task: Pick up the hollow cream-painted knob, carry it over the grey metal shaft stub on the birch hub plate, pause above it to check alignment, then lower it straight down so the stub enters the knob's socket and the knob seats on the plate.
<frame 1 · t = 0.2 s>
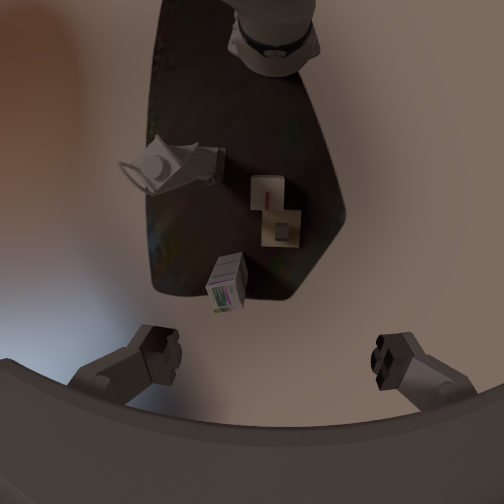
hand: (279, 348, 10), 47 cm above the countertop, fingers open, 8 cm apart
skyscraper: (205, 160, 53), on the countertop
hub: (281, 228, 57), on the countertop
syrup box: (234, 265, 61), on the countertop
knob: (267, 189, 54), on the countertop
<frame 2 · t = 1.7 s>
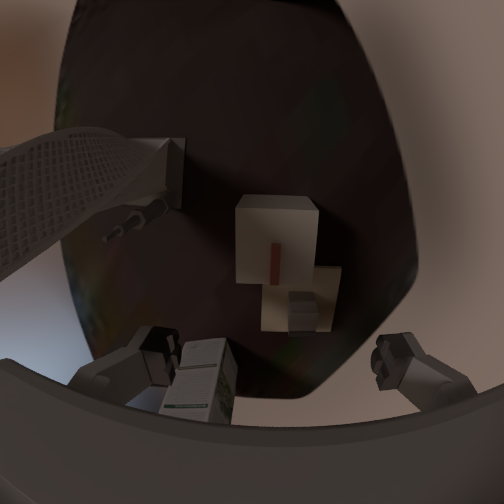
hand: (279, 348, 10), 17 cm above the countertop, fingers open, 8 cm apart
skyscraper: (146, 166, 25), on the countertop
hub: (299, 299, 29), on the countertop
syrup box: (213, 354, 33), on the countertop
knob: (274, 226, 26), on the countertop
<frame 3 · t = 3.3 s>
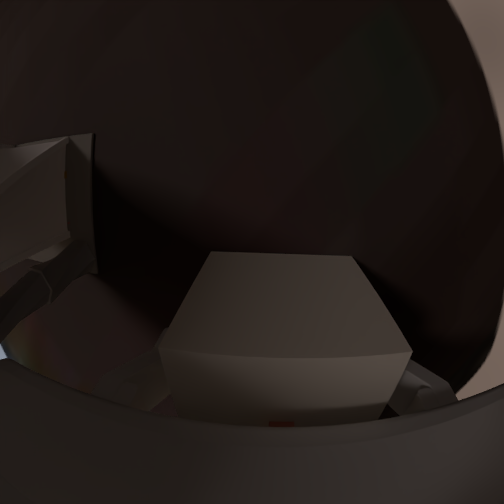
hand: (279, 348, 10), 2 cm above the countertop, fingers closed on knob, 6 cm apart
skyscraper: (44, 192, 11), on the countertop
knob: (278, 314, 12), on the countertop, touching gripper
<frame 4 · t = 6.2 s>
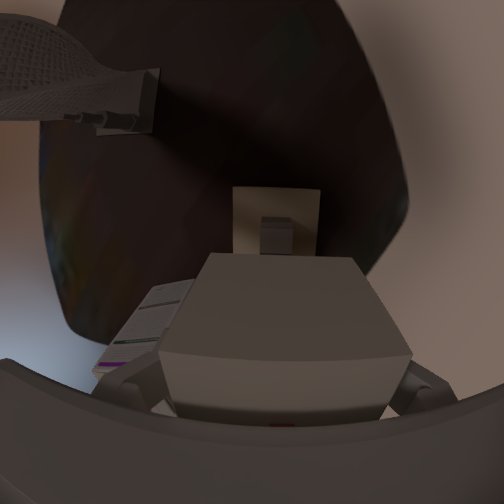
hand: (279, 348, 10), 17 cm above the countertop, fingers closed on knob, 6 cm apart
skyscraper: (123, 98, 23), on the countertop
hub: (275, 228, 26), on the countertop
syrup box: (183, 302, 30), on the countertop
knob: (278, 315, 12), point 15 cm above the countertop, touching gripper
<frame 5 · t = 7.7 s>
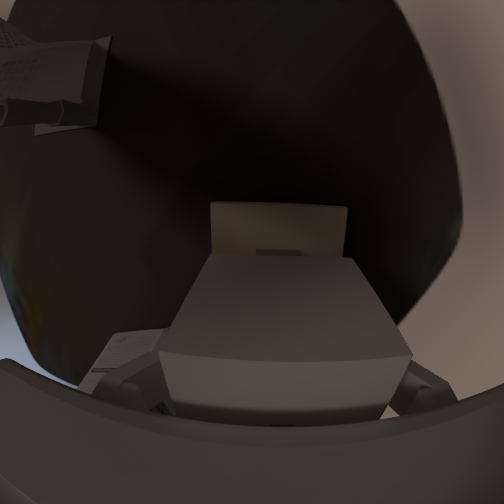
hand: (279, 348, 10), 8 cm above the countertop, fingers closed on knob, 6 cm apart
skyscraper: (66, 82, 14), on the countertop
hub: (276, 265, 17), on the countertop
syrup box: (154, 353, 21), on the countertop
knob: (278, 316, 12), point 5 cm above the countertop, touching gripper
when the fingers open (4 cm above the countertop, at t = 9.0 s): knob stays where it is, resting on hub.
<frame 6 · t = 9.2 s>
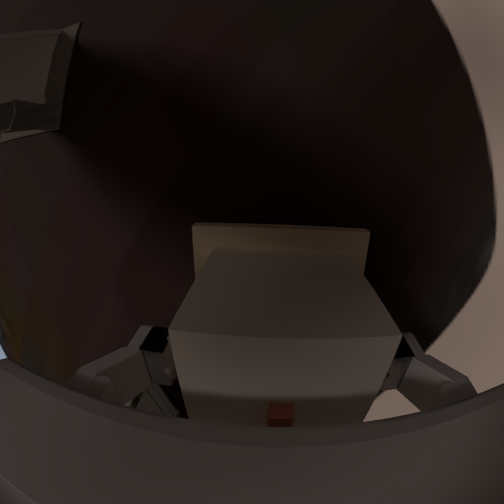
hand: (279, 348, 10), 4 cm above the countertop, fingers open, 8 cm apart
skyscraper: (33, 80, 10), on the countertop
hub: (278, 301, 14), on the countertop
syrup box: (138, 388, 18), on the countertop
knob: (278, 306, 13), point 1 cm above the countertop, touching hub
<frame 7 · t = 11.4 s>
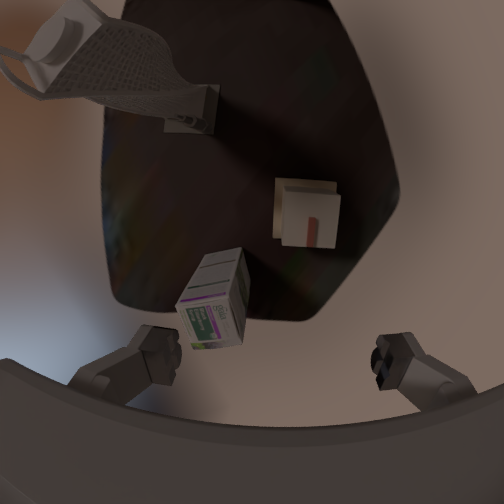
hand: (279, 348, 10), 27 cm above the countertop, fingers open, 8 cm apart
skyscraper: (187, 105, 32), on the countertop
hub: (304, 209, 35), on the countertop
syrup box: (228, 267, 39), on the countertop
knob: (304, 209, 35), point 1 cm above the countertop, touching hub
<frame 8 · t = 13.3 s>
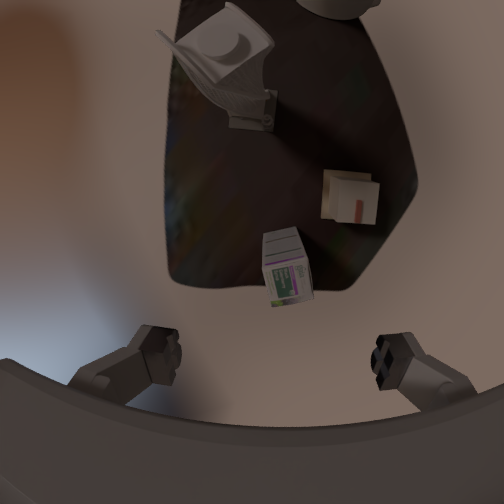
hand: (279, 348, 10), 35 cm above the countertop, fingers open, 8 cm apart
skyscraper: (249, 105, 38), on the countertop
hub: (345, 195, 42), on the countertop
syrup box: (283, 244, 46), on the countertop
knob: (346, 195, 41), point 1 cm above the countertop, touching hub
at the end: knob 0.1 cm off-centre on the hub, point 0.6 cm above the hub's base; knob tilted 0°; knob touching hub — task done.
